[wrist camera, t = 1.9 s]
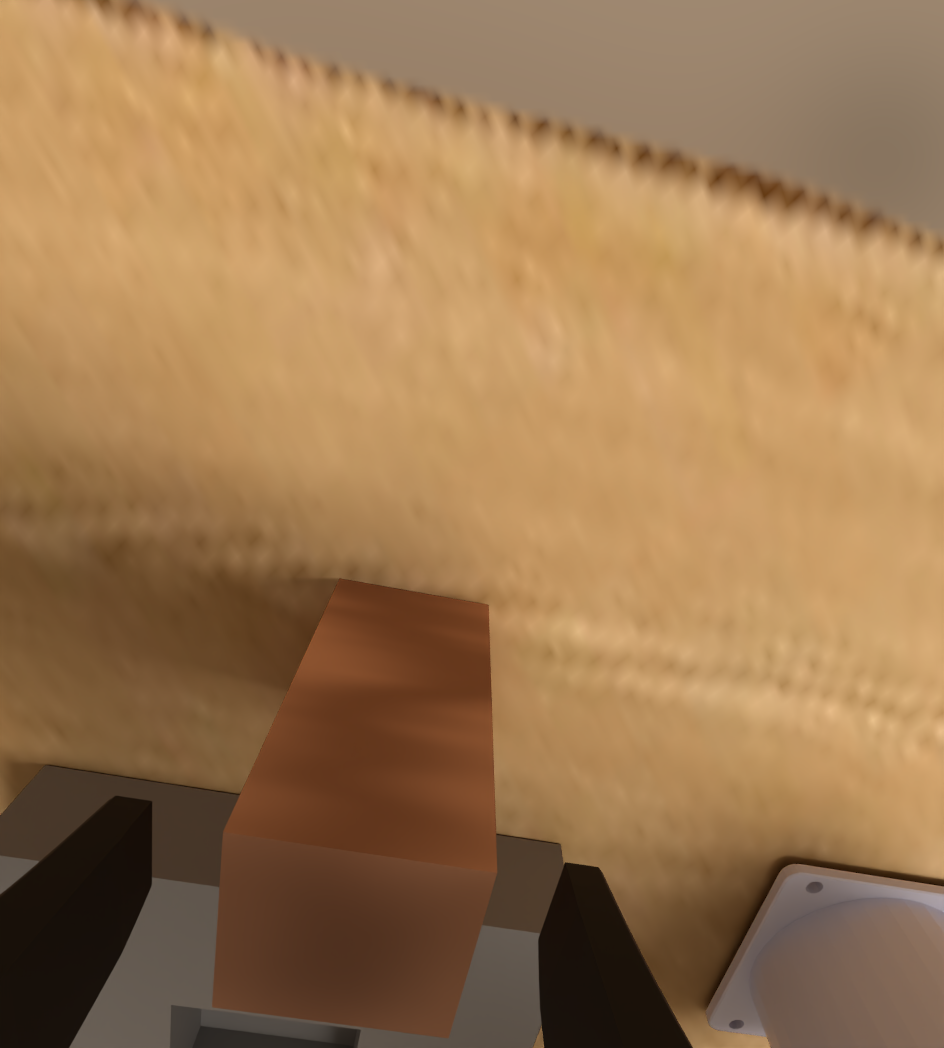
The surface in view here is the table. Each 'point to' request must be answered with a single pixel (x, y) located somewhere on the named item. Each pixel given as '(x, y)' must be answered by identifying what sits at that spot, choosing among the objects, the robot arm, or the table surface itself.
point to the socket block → (191, 927)
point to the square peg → (366, 822)
